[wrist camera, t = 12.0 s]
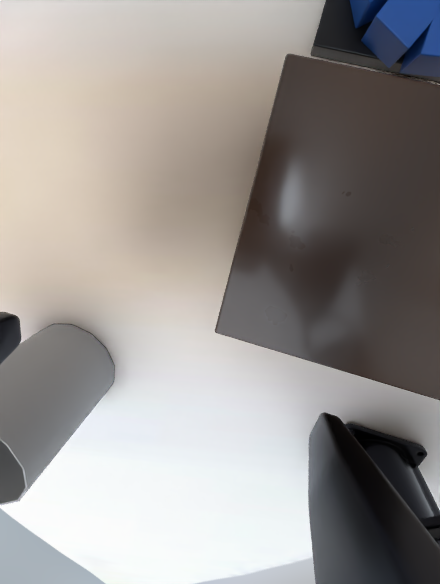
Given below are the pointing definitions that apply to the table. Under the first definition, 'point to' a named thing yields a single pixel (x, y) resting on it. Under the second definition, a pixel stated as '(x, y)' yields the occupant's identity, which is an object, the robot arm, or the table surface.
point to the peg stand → (349, 40)
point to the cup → (46, 400)
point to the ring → (402, 32)
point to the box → (344, 227)
